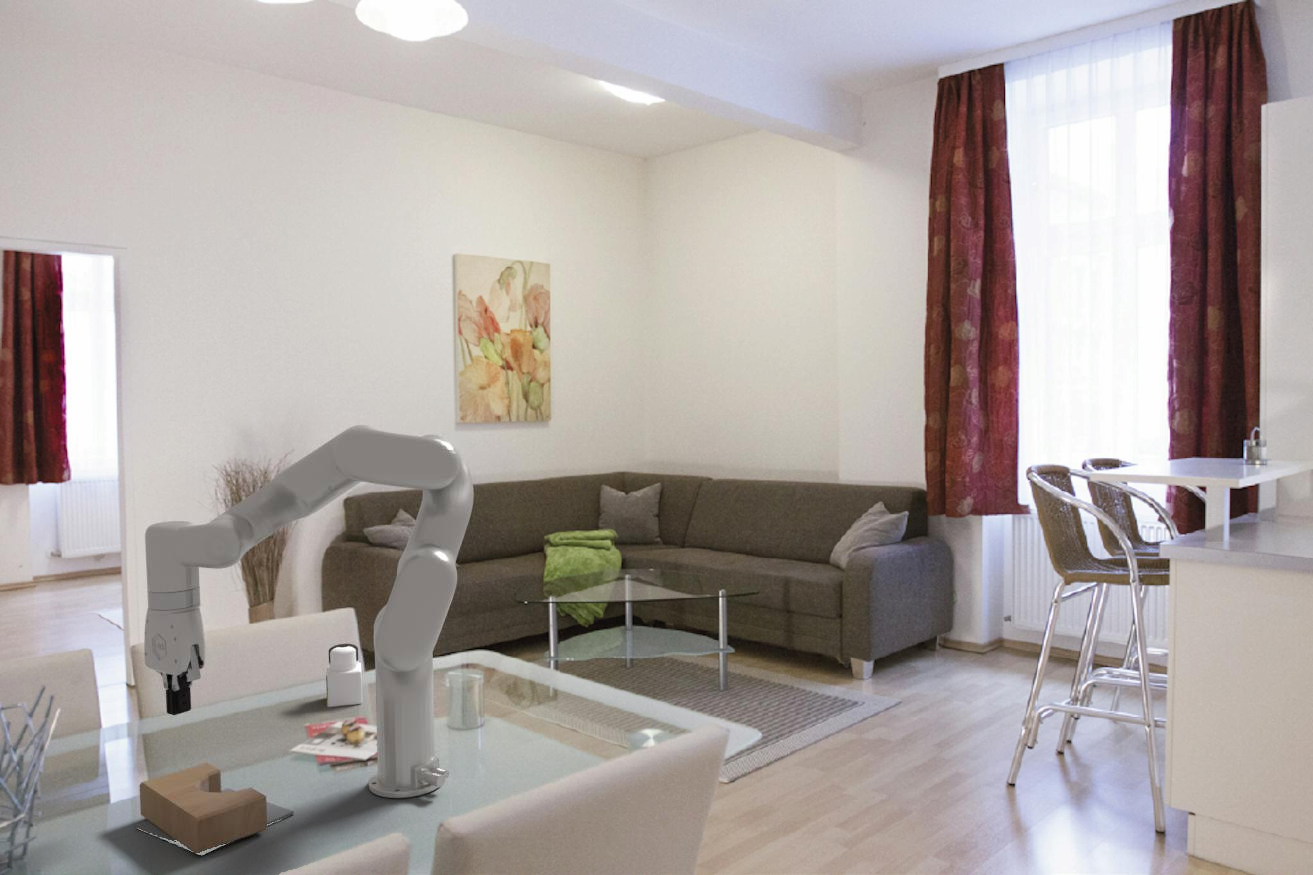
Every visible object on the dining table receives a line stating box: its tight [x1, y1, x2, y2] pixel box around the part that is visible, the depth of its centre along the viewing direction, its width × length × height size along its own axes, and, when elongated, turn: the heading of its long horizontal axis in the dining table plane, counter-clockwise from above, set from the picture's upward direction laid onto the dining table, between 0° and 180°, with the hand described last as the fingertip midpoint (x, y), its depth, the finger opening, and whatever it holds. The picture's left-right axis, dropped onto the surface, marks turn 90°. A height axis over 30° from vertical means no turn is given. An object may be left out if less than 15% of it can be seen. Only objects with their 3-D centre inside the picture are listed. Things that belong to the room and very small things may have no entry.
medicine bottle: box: [325, 643, 363, 708], centre depth 213 cm, size 7×7×12 cm
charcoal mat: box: [134, 787, 295, 842], centre depth 156 cm, size 17×16×1 cm
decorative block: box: [139, 762, 268, 854], centre depth 154 cm, size 11×6×20 cm
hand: (179, 711), depth 160 cm, fingers closed
